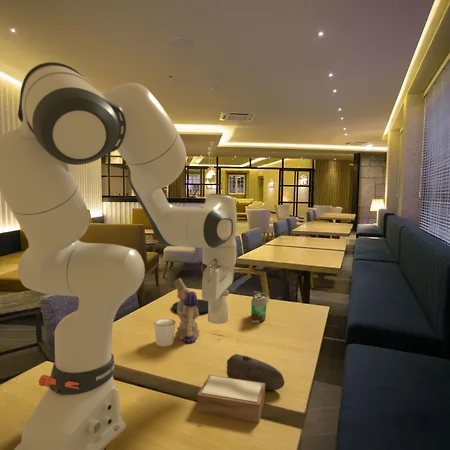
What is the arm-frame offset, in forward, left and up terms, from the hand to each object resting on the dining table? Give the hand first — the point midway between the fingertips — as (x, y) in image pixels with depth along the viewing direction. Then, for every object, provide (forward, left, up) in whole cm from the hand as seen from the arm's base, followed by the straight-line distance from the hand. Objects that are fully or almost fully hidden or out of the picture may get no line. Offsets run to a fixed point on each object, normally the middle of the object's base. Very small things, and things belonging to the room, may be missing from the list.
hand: (218, 308), depth 92 cm
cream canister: (0, 0, -3) cm, 3 cm away
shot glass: (+16, +22, -19) cm, 33 cm away
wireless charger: (+50, +24, -19) cm, 59 cm away
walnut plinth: (-11, -7, -19) cm, 23 cm away
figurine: (+22, +17, -19) cm, 34 cm away
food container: (+45, -5, -19) cm, 49 cm away
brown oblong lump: (-2, -11, -19) cm, 22 cm away
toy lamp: (+19, +15, -19) cm, 30 cm away
